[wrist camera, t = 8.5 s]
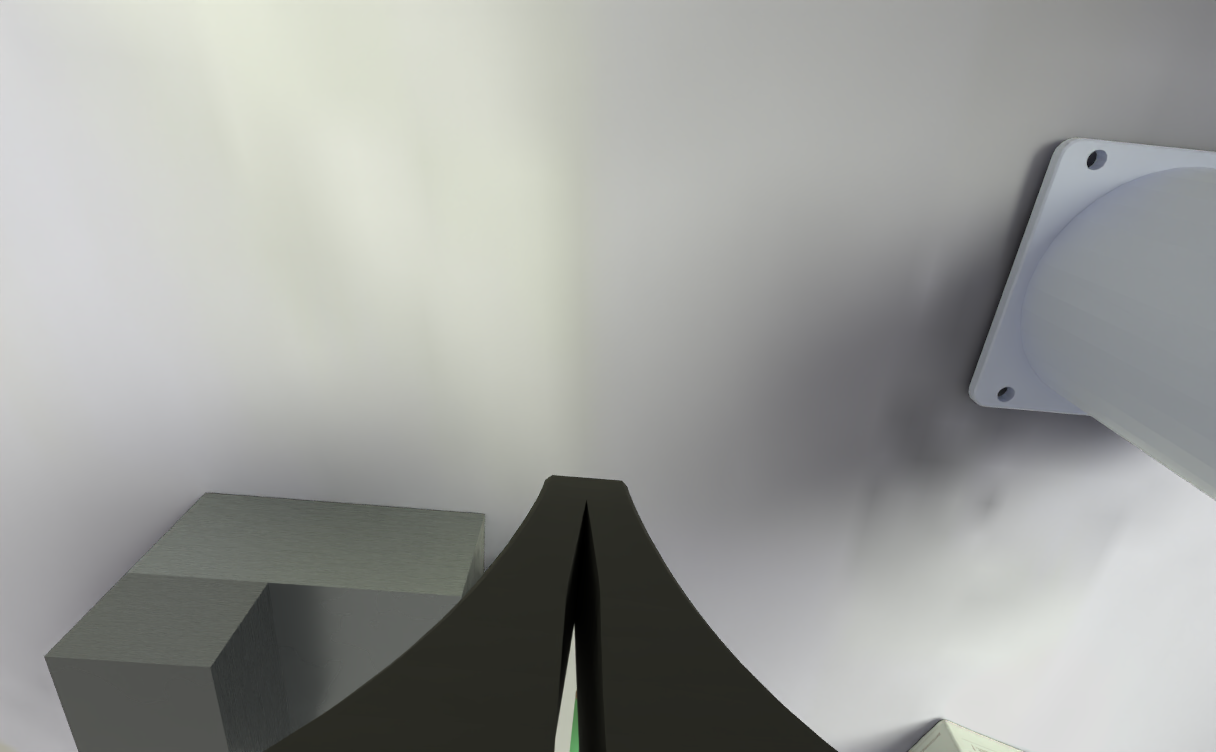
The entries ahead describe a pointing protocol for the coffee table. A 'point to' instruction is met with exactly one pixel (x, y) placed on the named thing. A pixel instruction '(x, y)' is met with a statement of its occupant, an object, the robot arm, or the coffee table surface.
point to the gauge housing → (258, 621)
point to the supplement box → (957, 740)
